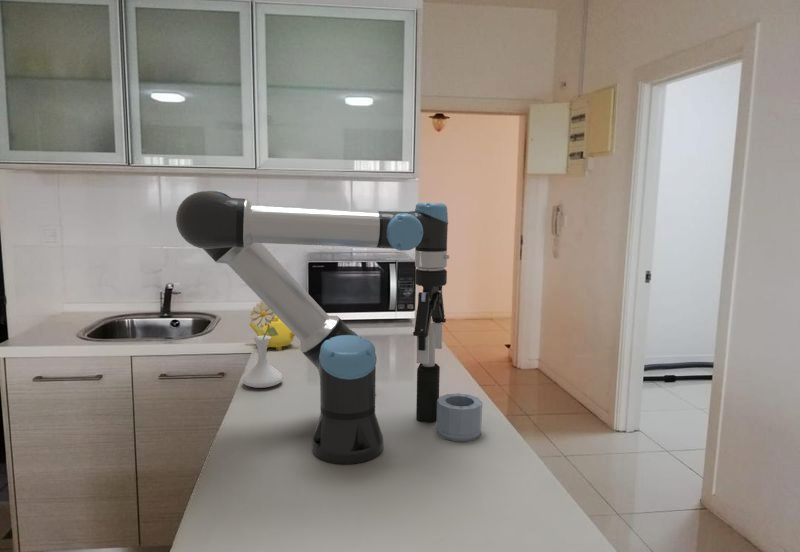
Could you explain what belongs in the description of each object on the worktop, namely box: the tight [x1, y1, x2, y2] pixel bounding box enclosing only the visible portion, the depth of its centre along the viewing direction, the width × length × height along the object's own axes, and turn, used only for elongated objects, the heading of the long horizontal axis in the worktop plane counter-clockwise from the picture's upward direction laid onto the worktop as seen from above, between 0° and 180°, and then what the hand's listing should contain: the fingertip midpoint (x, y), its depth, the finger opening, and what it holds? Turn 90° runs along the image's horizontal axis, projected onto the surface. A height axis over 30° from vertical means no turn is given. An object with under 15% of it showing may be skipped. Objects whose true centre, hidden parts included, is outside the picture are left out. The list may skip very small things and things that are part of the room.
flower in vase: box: [242, 300, 284, 389], centre depth 159 cm, size 13×11×25 cm
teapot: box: [248, 316, 296, 351], centre depth 201 cm, size 20×18×11 cm
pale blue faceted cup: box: [436, 392, 483, 443], centre depth 129 cm, size 10×10×8 cm
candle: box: [415, 319, 441, 423], centre depth 136 cm, size 5×5×25 cm
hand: (429, 355), depth 136 cm, fingers open, 13 cm apart
